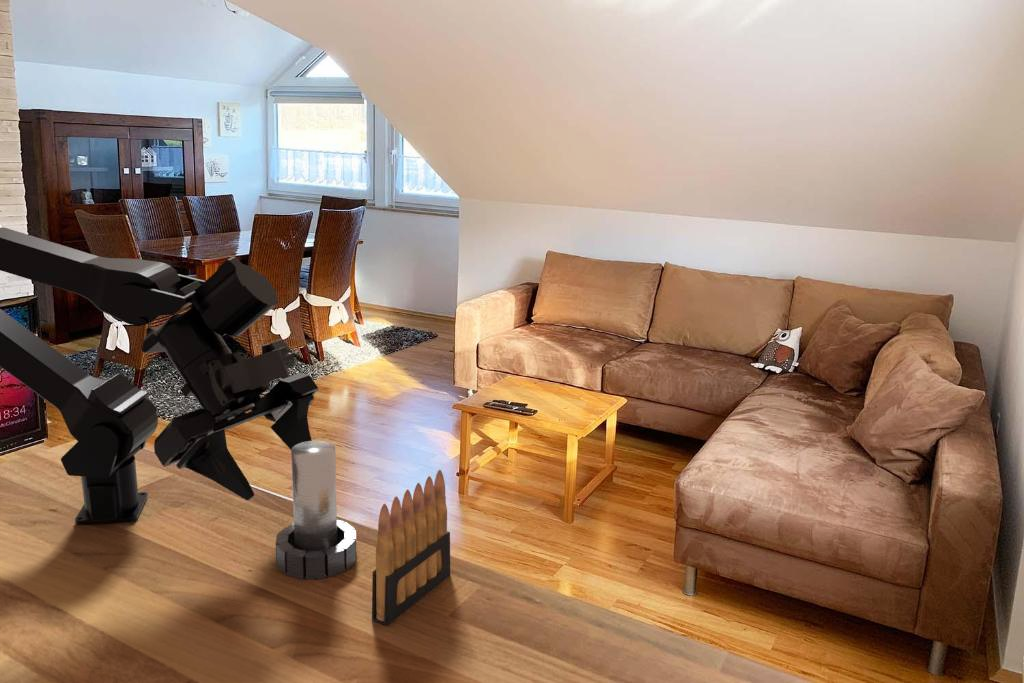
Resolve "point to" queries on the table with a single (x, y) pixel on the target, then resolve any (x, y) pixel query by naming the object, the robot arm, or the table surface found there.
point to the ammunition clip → (410, 550)
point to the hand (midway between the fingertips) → (283, 481)
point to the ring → (316, 554)
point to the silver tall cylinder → (314, 495)
